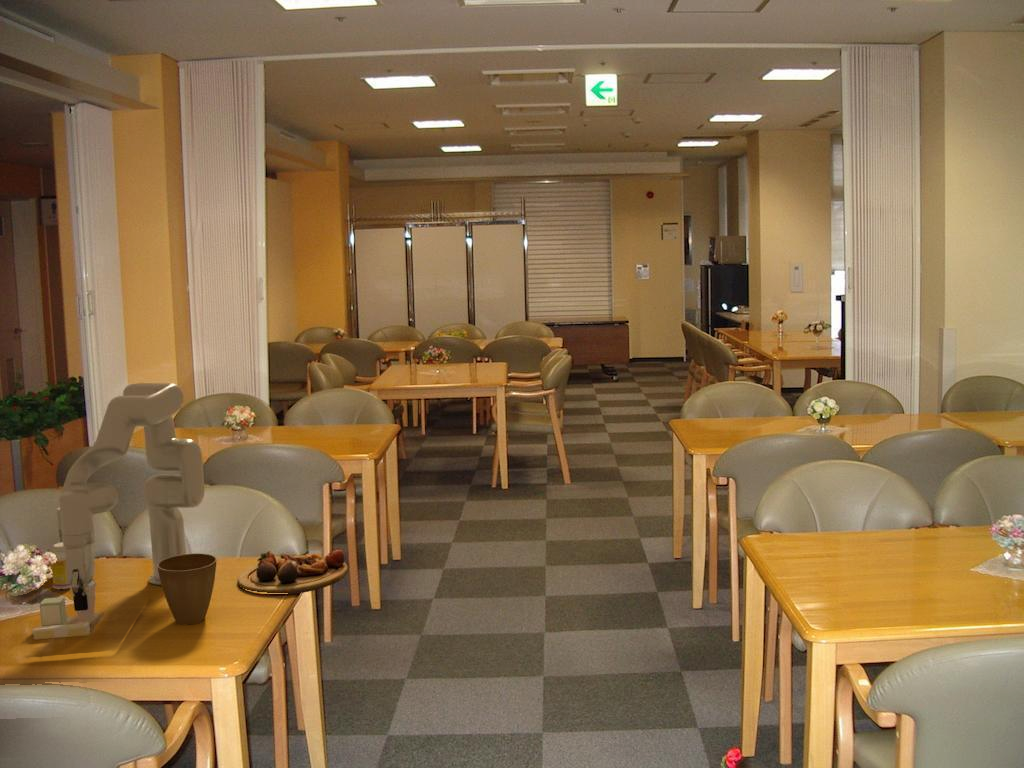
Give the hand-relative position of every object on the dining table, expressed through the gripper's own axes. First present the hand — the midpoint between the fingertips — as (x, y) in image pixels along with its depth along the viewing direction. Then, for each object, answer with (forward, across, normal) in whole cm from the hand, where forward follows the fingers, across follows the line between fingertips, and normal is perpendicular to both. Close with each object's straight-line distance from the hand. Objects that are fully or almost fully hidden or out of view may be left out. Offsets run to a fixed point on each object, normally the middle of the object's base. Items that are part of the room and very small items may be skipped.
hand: (85, 604), depth 263 cm
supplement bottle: (+7, -37, -16) cm, 41 cm away
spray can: (+7, -53, -18) cm, 56 cm away
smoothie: (+4, 0, 0) cm, 4 cm away
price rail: (+6, +7, -4) cm, 10 cm away
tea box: (+5, 0, -8) cm, 10 cm away
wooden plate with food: (+7, -29, +51) cm, 59 cm away
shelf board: (+6, 0, -4) cm, 7 cm away
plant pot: (+6, 0, +26) cm, 27 cm away
